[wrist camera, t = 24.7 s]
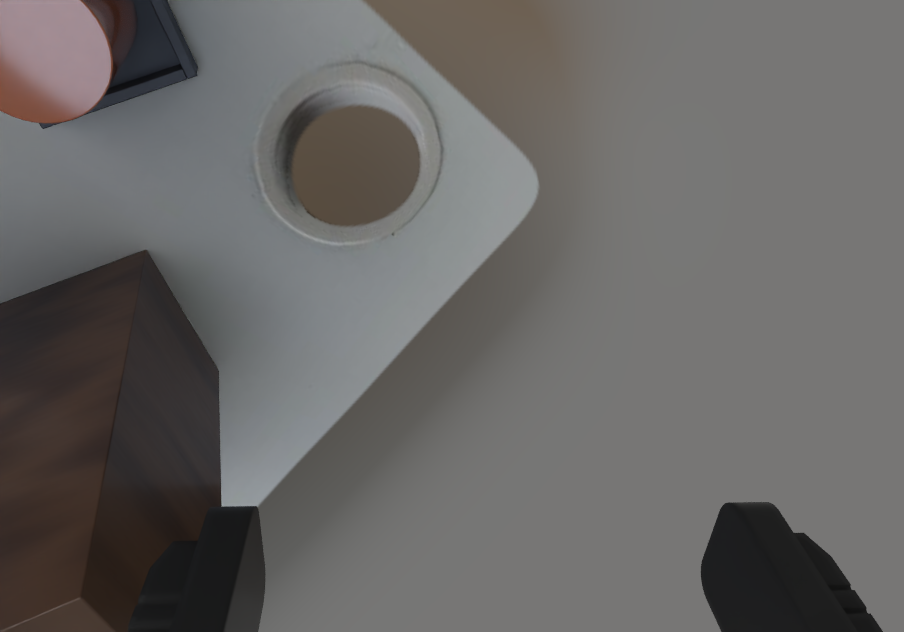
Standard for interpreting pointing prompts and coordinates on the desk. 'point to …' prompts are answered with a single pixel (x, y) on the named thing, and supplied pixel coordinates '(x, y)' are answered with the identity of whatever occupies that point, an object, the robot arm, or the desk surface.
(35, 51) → the copper brown cylinder
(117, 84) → the tray
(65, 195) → the desk surface
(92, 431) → the plant stand
